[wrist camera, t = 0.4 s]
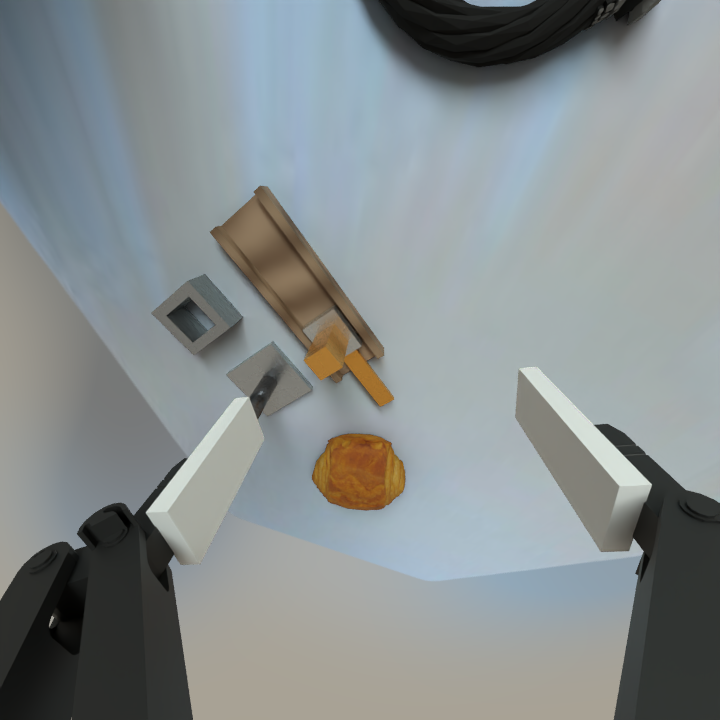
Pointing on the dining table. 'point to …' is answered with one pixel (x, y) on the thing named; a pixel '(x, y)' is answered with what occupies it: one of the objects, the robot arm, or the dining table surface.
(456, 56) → the cable lock
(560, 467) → the robot arm
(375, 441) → the croissant
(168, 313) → the square hollow frame
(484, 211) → the dining table surface
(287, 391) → the square plate with peg
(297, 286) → the rail
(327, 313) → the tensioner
